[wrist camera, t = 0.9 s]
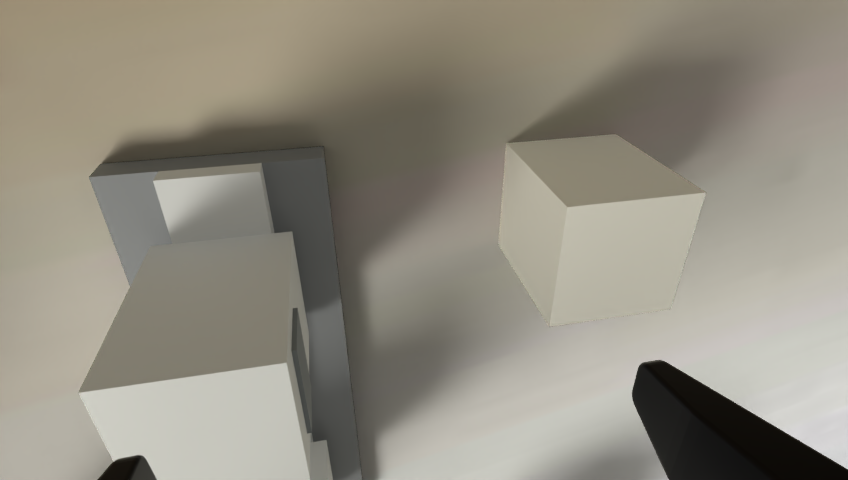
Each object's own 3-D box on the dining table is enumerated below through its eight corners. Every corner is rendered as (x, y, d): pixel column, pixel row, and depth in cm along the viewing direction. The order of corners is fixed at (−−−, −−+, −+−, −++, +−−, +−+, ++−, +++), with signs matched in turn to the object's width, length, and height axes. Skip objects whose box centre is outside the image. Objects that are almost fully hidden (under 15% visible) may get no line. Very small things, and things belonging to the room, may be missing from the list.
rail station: (363, 488, 31) (382, 666, 24) (226, 514, 30) (200, 711, 22) (323, 146, 20) (334, 277, 12) (100, 164, 19) (-40, 322, 11)
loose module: (599, 232, 25) (674, 308, 20) (498, 244, 24) (549, 327, 19) (618, 133, 22) (710, 192, 17) (505, 142, 21) (567, 207, 16)
